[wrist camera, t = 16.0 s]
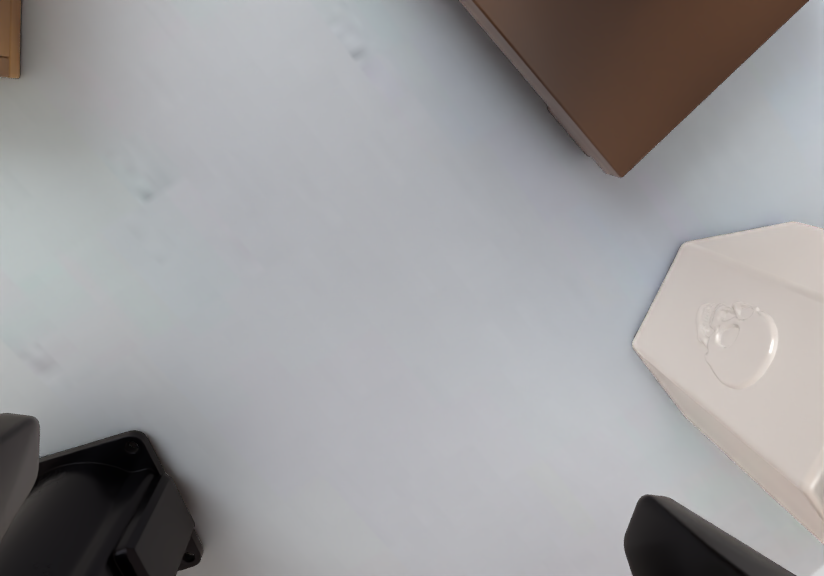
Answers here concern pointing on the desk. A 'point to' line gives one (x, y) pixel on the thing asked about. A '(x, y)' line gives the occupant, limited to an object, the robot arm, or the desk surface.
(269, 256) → the desk surface
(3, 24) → the tray
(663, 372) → the jar
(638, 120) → the wooden block
